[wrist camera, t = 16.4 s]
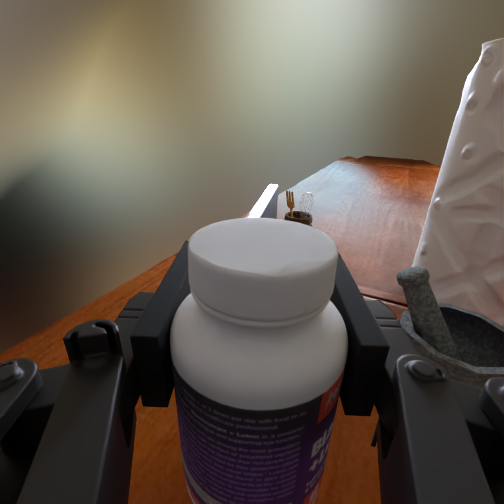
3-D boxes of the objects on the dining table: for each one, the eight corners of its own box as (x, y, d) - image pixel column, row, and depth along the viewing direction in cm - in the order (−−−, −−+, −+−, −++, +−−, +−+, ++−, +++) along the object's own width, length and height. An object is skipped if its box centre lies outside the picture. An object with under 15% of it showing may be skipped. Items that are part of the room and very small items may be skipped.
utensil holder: (316, 249, 60) (324, 189, 54) (296, 258, 56) (302, 194, 51) (294, 240, 64) (299, 183, 58) (273, 248, 60) (277, 188, 55)
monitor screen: (239, 329, 30) (240, 224, 25) (264, 259, 44) (268, 184, 39) (251, 331, 29) (255, 225, 25) (273, 260, 44) (278, 184, 39)
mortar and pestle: (499, 381, 31) (551, 280, 26) (500, 457, 24) (572, 340, 19) (385, 336, 37) (409, 246, 32) (360, 386, 30) (386, 282, 25)
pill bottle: (334, 552, 10) (408, 300, 6) (167, 544, 10) (119, 289, 6) (309, 404, 15) (339, 211, 10) (199, 399, 15) (185, 206, 11)
